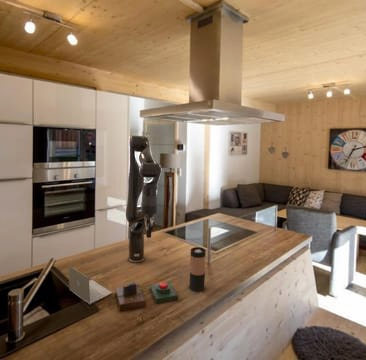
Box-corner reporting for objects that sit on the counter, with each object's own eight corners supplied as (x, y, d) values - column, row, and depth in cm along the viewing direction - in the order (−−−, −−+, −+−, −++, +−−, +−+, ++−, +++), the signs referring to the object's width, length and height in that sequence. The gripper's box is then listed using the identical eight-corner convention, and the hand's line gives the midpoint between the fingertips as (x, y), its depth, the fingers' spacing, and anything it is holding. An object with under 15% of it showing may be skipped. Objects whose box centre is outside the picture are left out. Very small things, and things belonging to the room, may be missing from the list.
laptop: (112, 294, 134) (112, 268, 132) (89, 305, 125) (88, 278, 123) (91, 280, 146) (91, 257, 144) (69, 290, 137) (68, 265, 135)
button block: (150, 289, 139) (150, 282, 138) (169, 286, 142) (169, 279, 141) (156, 303, 128) (156, 295, 127) (177, 299, 131) (177, 291, 130)
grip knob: (135, 291, 132) (135, 281, 131) (136, 293, 130) (136, 283, 129) (123, 294, 128) (122, 285, 128) (124, 296, 127) (124, 286, 126)
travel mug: (186, 285, 143) (187, 248, 140) (200, 282, 146) (201, 246, 143) (193, 293, 137) (194, 254, 134) (207, 290, 140) (208, 251, 137)
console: (116, 293, 135) (115, 287, 134) (138, 290, 138) (138, 284, 138) (119, 311, 121) (119, 304, 121) (144, 306, 125) (144, 300, 124)
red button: (158, 286, 135) (158, 282, 135) (165, 285, 137) (165, 281, 136) (160, 290, 132) (160, 286, 132) (167, 288, 133) (168, 285, 133)
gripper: (160, 206, 132) (159, 241, 135) (153, 200, 144) (152, 232, 147) (144, 207, 130) (143, 243, 132) (139, 200, 142) (138, 233, 145)
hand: (148, 237), depth 140 cm, fingers closed
